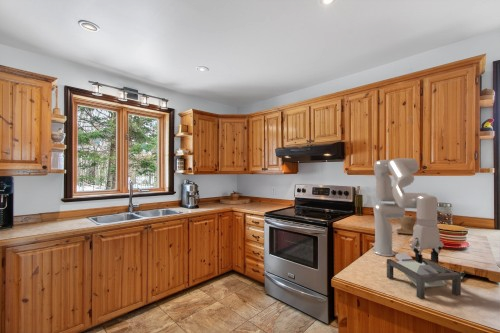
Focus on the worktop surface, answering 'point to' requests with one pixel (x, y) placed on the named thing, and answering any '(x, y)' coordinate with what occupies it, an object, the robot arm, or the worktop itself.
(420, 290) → the frame
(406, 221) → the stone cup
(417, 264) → the trapdoor
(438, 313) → the worktop surface
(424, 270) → the grey cube
